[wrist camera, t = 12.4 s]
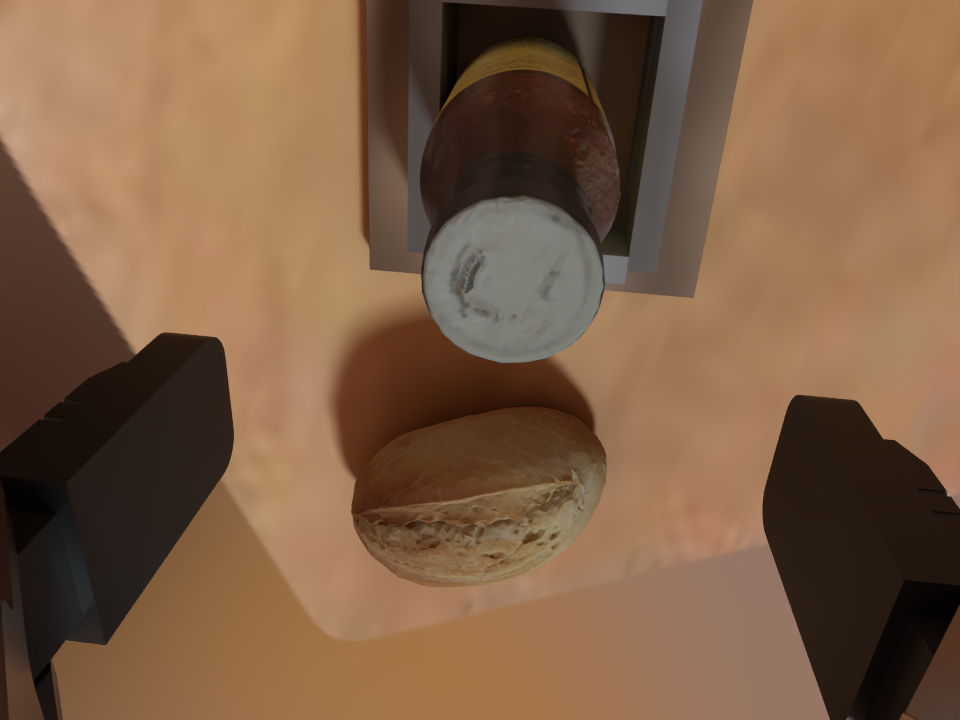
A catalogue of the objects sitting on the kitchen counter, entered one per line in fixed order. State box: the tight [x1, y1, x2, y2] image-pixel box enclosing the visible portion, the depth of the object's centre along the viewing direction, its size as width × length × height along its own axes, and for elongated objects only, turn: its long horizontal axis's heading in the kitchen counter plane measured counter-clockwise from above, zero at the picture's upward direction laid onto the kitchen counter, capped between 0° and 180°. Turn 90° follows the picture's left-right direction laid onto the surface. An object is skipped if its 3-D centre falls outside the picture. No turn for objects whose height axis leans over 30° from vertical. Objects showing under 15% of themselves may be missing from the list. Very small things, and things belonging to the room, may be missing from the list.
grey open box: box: [366, 0, 753, 298], centre depth 32 cm, size 16×16×6 cm
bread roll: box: [351, 407, 606, 587], centre depth 41 cm, size 10×15×8 cm, turn 112°
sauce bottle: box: [420, 36, 621, 363], centre depth 25 cm, size 7×6×20 cm
